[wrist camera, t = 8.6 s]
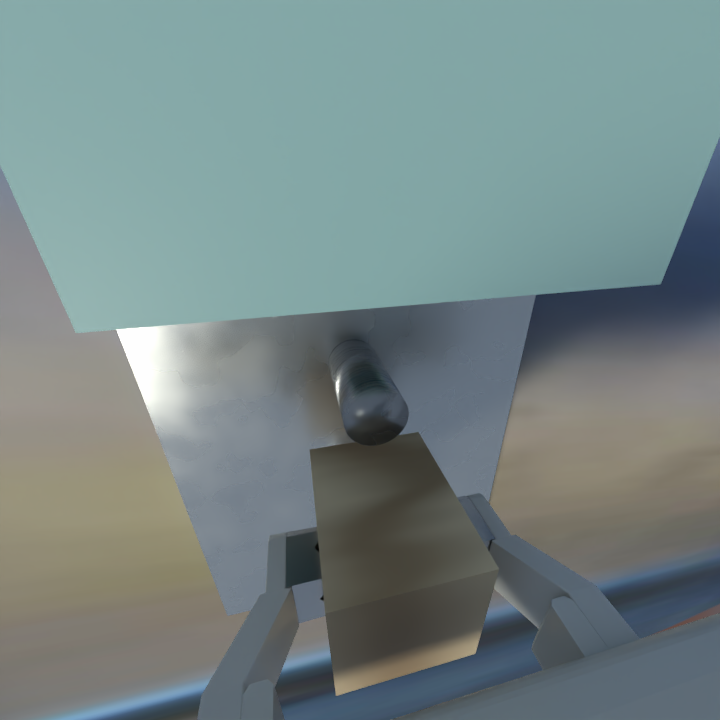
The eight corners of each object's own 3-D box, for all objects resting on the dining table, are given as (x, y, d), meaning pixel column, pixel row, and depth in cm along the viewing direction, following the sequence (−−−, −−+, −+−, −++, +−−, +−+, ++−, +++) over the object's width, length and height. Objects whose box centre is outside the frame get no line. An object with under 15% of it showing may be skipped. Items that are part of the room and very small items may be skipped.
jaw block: (418, 431, 12) (499, 569, 7) (412, 506, 13) (475, 653, 9) (309, 449, 11) (325, 613, 6) (318, 526, 13) (336, 695, 8)
